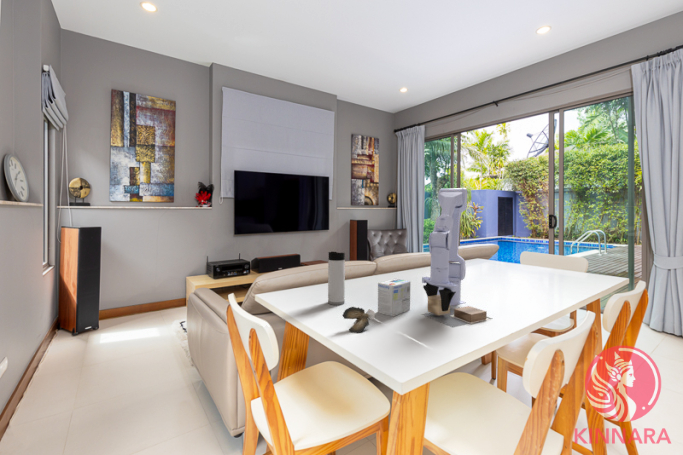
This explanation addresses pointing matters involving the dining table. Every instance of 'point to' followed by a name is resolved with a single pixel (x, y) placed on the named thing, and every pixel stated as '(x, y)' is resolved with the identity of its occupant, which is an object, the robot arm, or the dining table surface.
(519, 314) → the dining table surface
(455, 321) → the mat
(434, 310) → the oak cube
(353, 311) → the eagle figurine
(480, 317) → the walnut slab
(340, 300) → the travel mug
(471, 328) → the dining table surface
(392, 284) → the light bulb box
